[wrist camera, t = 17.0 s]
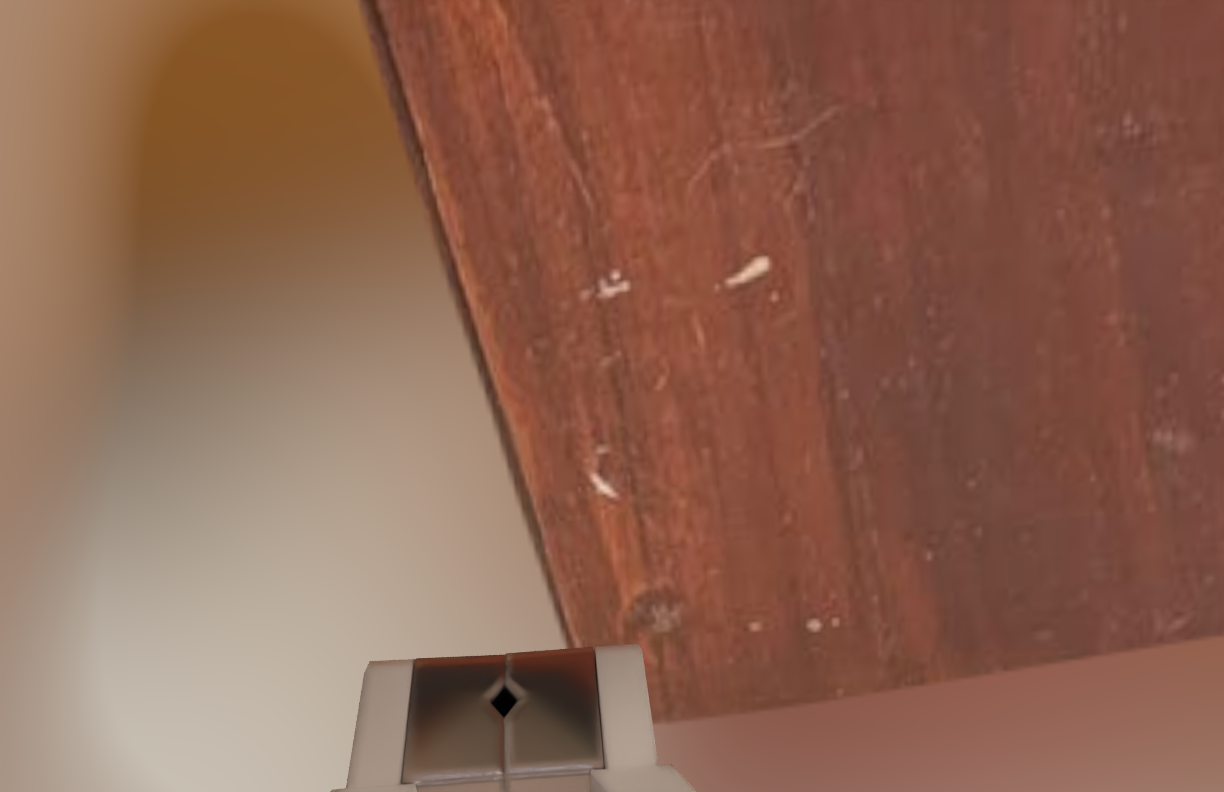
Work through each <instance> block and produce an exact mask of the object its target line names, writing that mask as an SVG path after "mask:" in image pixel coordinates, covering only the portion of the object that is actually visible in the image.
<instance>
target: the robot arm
mask: <svg viewBox="0 0 1224 792" xmlns="http://www.w3.org/2000/svg"><path fill="white" fill-rule="evenodd" d="M653 732H654V731H653V724H652V717H651V710H650V703H649V696H648V689H647V682H646V675H645V668H644V661H643V654H642V650H641V648H640V646H639V645H638V644H627V645H614V646H600V647H595V648H594V650H593V647H584V648H571V649H559V650H546V651H533V652H520V653H508V654H505V655H488V656H465V657H441V658H418V659H412V660H389V661H370V662H369V664H368V666H367V669H366V671H365V673H364V678H363V684H362V690H361V697H360V703H359V709H358V716H357V722H356V728H355V735H354V741H353V748H352V754H351V760H350V767H349V774H348V779H347V785H346V789H336V790H332V791H331V792H697V791H696V790H695V789H694V788H693V787H692V785H691V784H690V783H688V781H687V780H686V779H685V778H684V777H683V776H682V775H681V774H680V773H679V772H678V771H677V770H676V769H675V768H674V767H673V765H658V760H657V753H656V746H655V738H654V733H653Z"/></svg>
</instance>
